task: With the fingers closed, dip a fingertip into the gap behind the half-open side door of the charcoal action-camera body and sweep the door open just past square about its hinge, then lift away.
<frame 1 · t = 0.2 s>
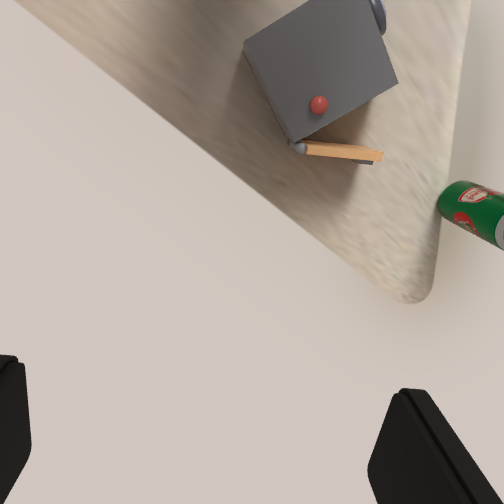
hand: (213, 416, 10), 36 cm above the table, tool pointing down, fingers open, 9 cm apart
soda can: (455, 199, 47), on the table
side door: (332, 151, 40), point 3 cm above the table, hinge at 35.0°
camera body: (310, 68, 40), on the table
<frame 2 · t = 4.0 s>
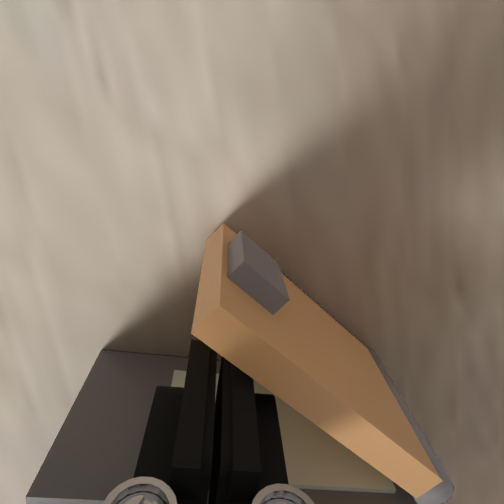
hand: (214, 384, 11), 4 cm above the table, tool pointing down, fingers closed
side door: (322, 346, 12), point 3 cm above the table, hinge at 35.1°, touching gripper
camera body: (223, 450, 17), on the table
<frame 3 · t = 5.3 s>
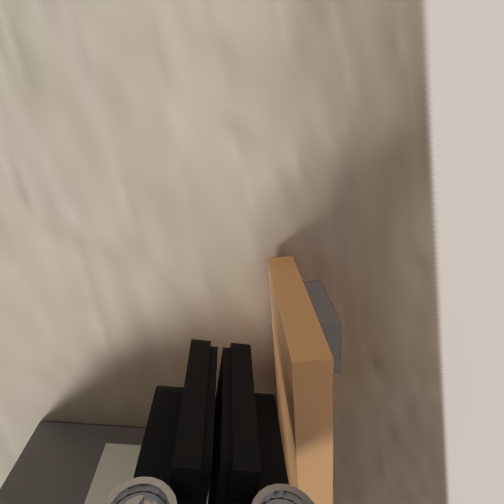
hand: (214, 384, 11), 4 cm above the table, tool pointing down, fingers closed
side door: (305, 411, 12), point 3 cm above the table, hinge at 76.8°, touching gripper
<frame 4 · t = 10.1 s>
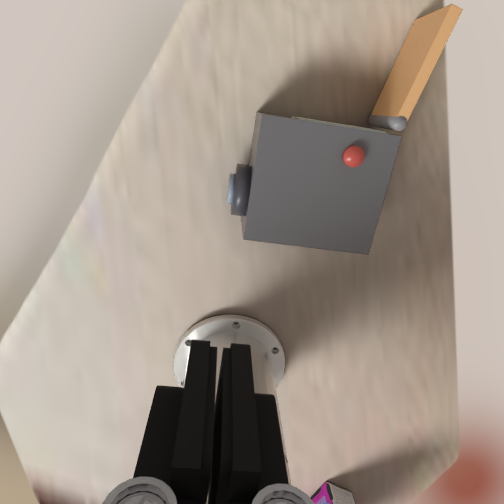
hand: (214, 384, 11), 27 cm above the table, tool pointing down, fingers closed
side door: (411, 75, 30), point 3 cm above the table, hinge at 102.3°
camera body: (305, 176, 36), on the table
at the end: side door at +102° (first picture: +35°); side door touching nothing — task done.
